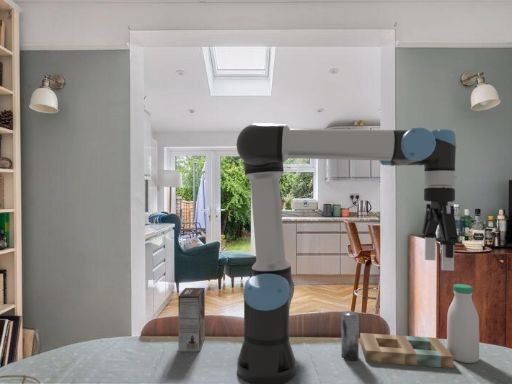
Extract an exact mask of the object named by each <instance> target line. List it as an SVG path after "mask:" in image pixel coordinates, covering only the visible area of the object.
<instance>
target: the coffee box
mask: <svg viewBox="0 0 512 384" xmlns="http://www.w3.org/2000/svg"><path fill="white" fill-rule="evenodd" d="M205 288H206V287H185V288H184V289H183V290H182V291H181V292H180V294H179V295H178V297H177V298H178V300H177V301H178V306H177V307H178V311H177V312H178V323H177V324H178V352H200V351H201V348H202V346H203V343H204V341H205V337H206V336H205V335H206V334H205V333H206V331H205V330H206V329H205V328H206V327H205V326H206V325H205V323H206V321H205V320H206V319H205V316H206V313H205V311H206V310H205V307H206V306H205V305H206V303H205V302H206V301H205V299H206V297H205V296H206V295H205V293H206V291H205V290H206V289H205Z"/></svg>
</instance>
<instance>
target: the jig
mask: <svg viewBox="0 0 512 384" xmlns="http://www.w3.org/2000/svg"><path fill="white" fill-rule="evenodd" d="M359 343H360V346H361V350H362V353H363V356H364V359H365V362H368V363H380V364H381V363H383V364H393V365H394V364H395V365H404V366H405V365H406V366H418V367H419V366H421V367H431V368H433V367H434V368H445V369H454V359H453V356H452V355H451V353H450V352H449V351H448V350H447V347H446V346H445V345H444V344H443V343H442V342H441V340H440V339H439V338H438V337H431V336H430V337H428V336H427V337H426V336H414V335H413V336H412V335H411V336H410V335H398V334H386V333H385V334H382V333H381V334H380V333H366V332H365V333H364V332H359Z"/></svg>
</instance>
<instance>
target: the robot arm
mask: <svg viewBox="0 0 512 384" xmlns="http://www.w3.org/2000/svg"><path fill="white" fill-rule="evenodd" d="M456 139H457V138H456V133H455V131H454V130H451V129H447V128H446V129H445V128H444V129H443V128H442V129H441V128H440V129H432V130H429V129H428V128H424V127H412V128H409V129H406V130H405V129H395V130H394V129H393V130H392V129H355V128H354V129H350V128H349V129H344V128H340V129H339V128H338V129H336V128H291V127H289V126H288V125H287V124H283V123H282V124H280V123H264V122H263V123H262V122H259V123H258V122H257V123H251V124H249V125H246V126H245V127H244V128H243V129H242V130H241V131H240V132H239V135H238V136H237V139H236V151H237V154H238V155H239V157H240V158H241V160H242V161H243V166H244V176H245V177H246V178H247V179H248V180H249V181H250V192H251V194H250V195H251V204H252V207H251V208H252V218H253V219H252V220H253V221H252V223H253V232H254V234H253V235H254V246H255V259H256V261H255V262H254V263H253V265H252V266H251V273H252V274H251V275H252V276H250V277H249V278H248V279H247V280H246V281H245V283H244V288H243V312H244V313H243V330H244V331H243V333H244V334H243V342H242V345H241V348H240V350H239V353H238V354H239V355H238V357H237V363H236V364H237V365H236V369H237V371H236V372H237V374H238V376H239V377H240V378H241V379H243V380H244V381H246V382H248V383H251V384H284V383H286V382H289V381H291V380H292V379H293V378H295V376H296V372H297V362H296V358H295V355H294V352H293V348H292V345H291V342H290V308H291V304H292V299H293V297H294V293H295V283H294V282H293V281H294V280H293V278H292V265H291V263H290V262H289V261H288V260H286V254H285V253H286V252H285V241H284V240H285V239H284V238H285V237H284V226H283V214H282V213H283V212H282V201H281V199H282V198H281V188H280V187H281V186H280V179H281V177H282V176H283V174H284V173H285V172H284V163H285V162H286V161H288V160H289V159H304V160H305V159H306V160H308V159H309V160H310V159H312V160H344V161H345V160H348V161H349V160H350V161H351V160H352V161H353V160H355V161H379V163H380V164H381V165H382V166H391V167H393V166H424V170H423V171H424V172H423V186H425V187H424V189H423V200H424V201H425V202H430V203H426V205H425V216H424V222H423V227H422V235H424V260H425V261H436V256H437V255H436V254H437V253H436V243H437V241H436V240H437V239H436V238H437V234H436V232H437V229H438V226H439V230H440V235H441V238H442V241H441V242H440V245H441V266H440V267H441V271H451V272H454V271H455V245H456V244H459V242H460V240H459V235H458V229H457V224H456V223H457V222H456V220H455V219H456V218H455V207H454V205H449V202H450V203H453V202H455V201H456V189H455V187H453V186H456V179H457V177H458V175H456V150H457V140H456Z"/></svg>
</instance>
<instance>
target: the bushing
mask: <svg viewBox="0 0 512 384" xmlns="http://www.w3.org/2000/svg"><path fill="white" fill-rule="evenodd" d="M359 316H360V315H359V313H358V312H356V311H351V310H346V311H342V312H341V358H342V359H343V358H344V359H343V360H345V361H349V362H355V361H358V360H359V359H360V358H359V356H360V355H359V353H360V351H359V347H360V346H359V343H360V332H359V330H360V329H359V327H360V326H359V324H360V323H359V319H360V318H359Z"/></svg>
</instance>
